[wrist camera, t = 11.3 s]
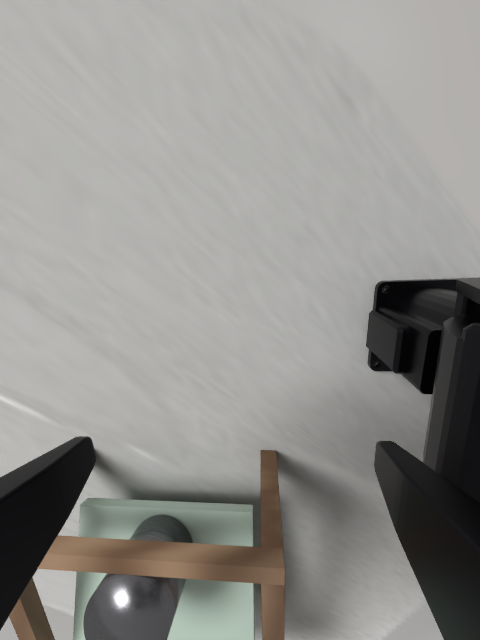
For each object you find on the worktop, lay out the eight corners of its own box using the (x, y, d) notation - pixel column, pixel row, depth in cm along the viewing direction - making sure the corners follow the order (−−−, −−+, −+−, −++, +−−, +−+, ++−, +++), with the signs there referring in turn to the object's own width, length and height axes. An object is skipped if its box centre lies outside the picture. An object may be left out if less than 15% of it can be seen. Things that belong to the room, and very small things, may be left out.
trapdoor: (252, 504, 21) (252, 512, 20) (255, 704, 20) (255, 724, 19) (88, 497, 22) (80, 504, 21) (79, 686, 21) (69, 702, 20)
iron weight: (193, 516, 20) (168, 581, 15) (193, 585, 20) (167, 678, 14) (131, 513, 21) (84, 575, 15) (130, 581, 20) (81, 670, 15)
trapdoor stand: (276, 450, 22) (284, 568, 14) (276, 594, 27) (283, 744, 19) (77, 445, 24) (-19, 549, 16) (111, 582, 29) (51, 716, 20)
